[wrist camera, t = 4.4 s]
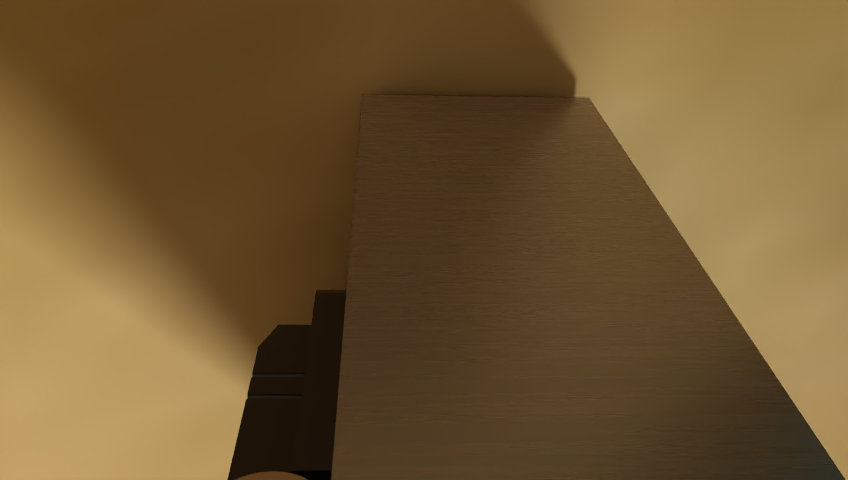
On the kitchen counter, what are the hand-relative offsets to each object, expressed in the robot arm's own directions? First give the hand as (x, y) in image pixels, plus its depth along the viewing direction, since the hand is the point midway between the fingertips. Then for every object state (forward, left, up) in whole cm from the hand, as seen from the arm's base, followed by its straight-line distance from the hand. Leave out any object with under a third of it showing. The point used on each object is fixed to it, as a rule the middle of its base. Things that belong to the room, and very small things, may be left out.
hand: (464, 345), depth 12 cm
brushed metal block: (0, 0, -1) cm, 1 cm away
